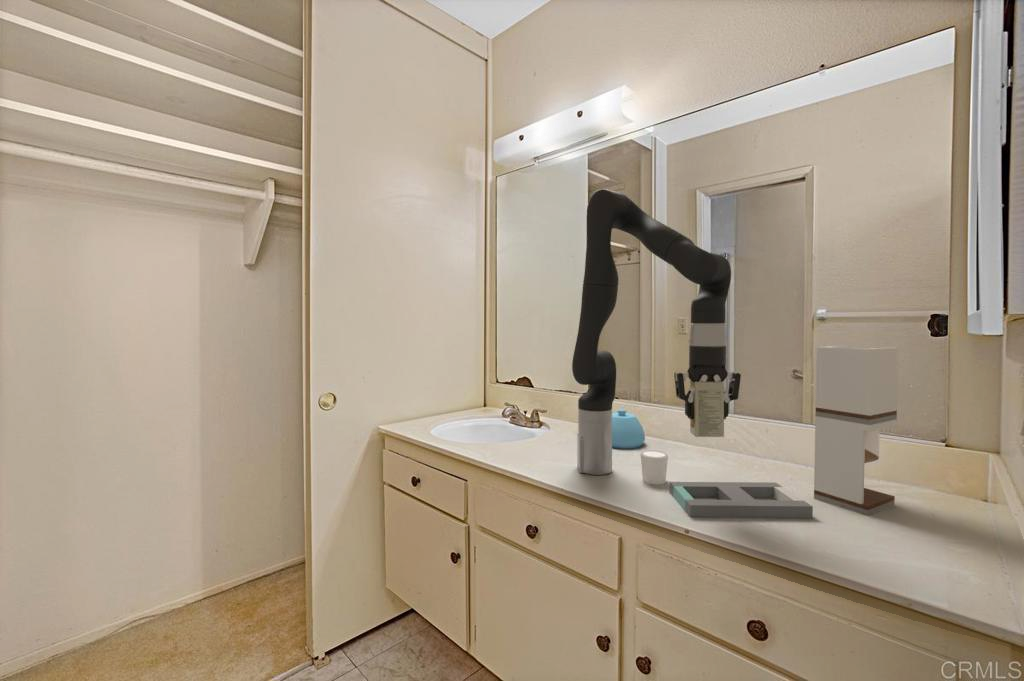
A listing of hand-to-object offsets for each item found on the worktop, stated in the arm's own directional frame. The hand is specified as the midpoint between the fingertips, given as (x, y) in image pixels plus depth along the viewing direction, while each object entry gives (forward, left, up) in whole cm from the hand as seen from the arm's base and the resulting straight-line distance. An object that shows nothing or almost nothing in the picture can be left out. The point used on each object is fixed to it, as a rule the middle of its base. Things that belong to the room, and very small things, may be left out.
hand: (706, 418), depth 100 cm
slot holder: (+7, 0, -19) cm, 20 cm away
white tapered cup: (-7, +15, -20) cm, 26 cm away
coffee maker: (+34, +2, -20) cm, 39 cm away
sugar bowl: (-8, +51, -20) cm, 55 cm away
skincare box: (0, 0, -4) cm, 4 cm away
